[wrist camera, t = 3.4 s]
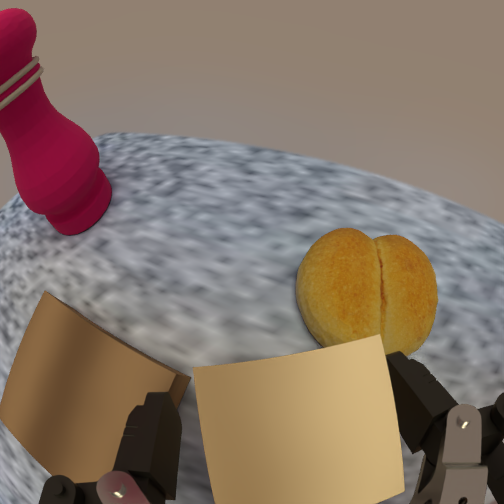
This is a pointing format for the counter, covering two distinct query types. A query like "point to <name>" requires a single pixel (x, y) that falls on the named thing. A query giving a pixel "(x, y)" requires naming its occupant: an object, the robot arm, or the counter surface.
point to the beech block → (302, 427)
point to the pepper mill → (45, 138)
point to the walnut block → (77, 391)
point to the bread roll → (367, 290)
